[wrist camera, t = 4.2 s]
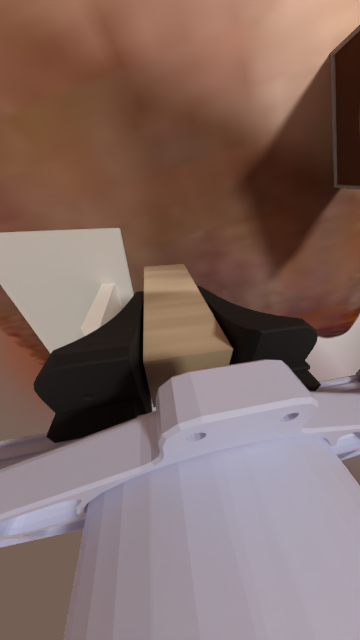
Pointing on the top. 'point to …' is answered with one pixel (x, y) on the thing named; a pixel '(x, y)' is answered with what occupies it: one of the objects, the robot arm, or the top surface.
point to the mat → (61, 277)
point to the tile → (102, 308)
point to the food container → (346, 111)
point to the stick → (178, 327)
